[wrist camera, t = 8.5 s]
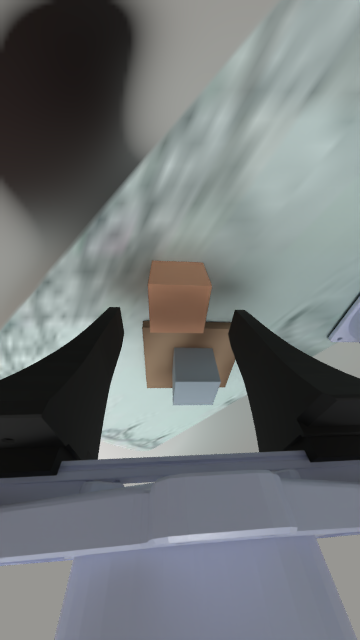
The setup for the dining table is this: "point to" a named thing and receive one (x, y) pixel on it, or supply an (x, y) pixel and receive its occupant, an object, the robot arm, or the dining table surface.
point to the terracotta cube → (178, 297)
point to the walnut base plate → (163, 345)
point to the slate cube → (194, 376)
